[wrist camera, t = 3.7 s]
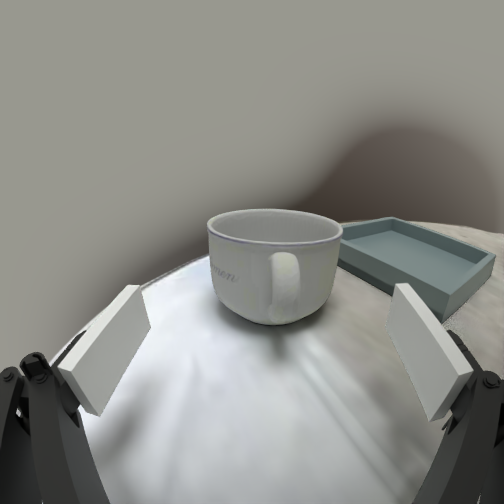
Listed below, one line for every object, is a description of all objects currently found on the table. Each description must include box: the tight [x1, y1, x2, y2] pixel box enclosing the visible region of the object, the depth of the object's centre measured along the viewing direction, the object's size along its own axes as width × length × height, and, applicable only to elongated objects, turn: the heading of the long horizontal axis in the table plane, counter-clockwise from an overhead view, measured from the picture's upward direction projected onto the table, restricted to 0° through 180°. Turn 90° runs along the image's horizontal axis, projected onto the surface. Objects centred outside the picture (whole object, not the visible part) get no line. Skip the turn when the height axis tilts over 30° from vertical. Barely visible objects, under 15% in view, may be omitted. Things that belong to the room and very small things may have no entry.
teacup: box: [207, 209, 343, 325], centre depth 22 cm, size 14×11×8 cm
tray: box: [337, 217, 496, 324], centre depth 30 cm, size 17×20×3 cm
